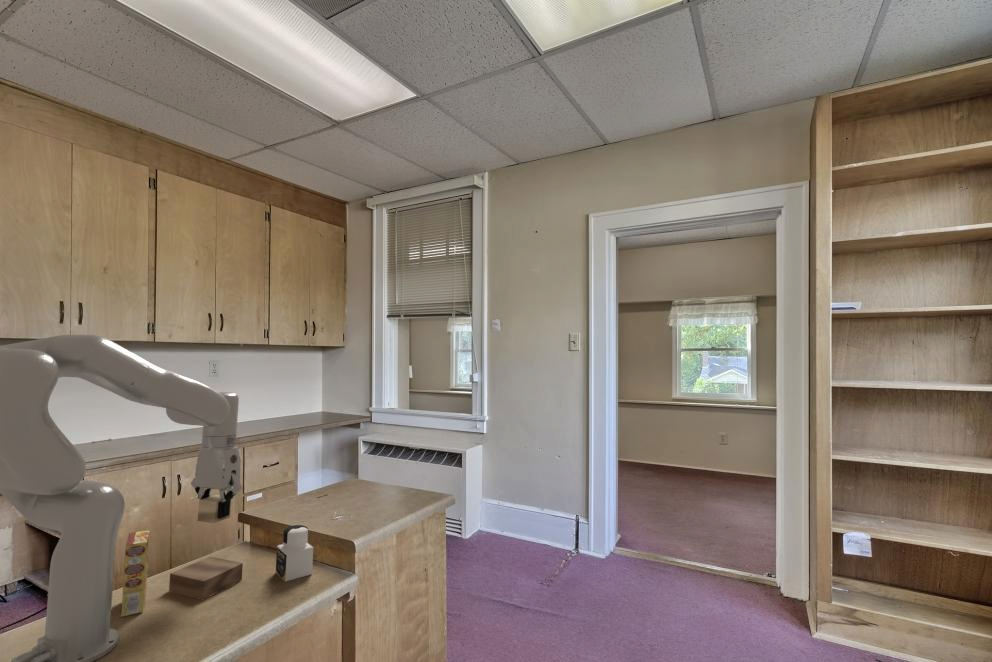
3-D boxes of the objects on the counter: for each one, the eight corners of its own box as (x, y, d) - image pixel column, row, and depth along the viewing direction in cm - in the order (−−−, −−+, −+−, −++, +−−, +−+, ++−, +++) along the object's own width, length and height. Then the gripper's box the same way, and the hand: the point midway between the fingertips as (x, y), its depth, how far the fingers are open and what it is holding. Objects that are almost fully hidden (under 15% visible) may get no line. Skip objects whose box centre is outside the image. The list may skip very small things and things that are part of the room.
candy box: (143, 612, 106) (149, 541, 107) (119, 618, 104) (125, 545, 105) (146, 596, 114) (150, 529, 115) (123, 600, 111) (128, 532, 112)
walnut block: (203, 601, 113) (204, 581, 113) (168, 592, 116) (170, 573, 117) (241, 581, 123) (242, 563, 123) (209, 574, 127) (210, 556, 127)
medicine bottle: (275, 572, 128) (277, 526, 129) (302, 565, 133) (304, 521, 133) (284, 582, 123) (287, 534, 123) (312, 574, 127) (314, 528, 128)
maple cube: (214, 523, 117) (215, 502, 118) (197, 520, 119) (199, 500, 119) (230, 517, 122) (231, 497, 123) (214, 514, 124) (215, 495, 124)
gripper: (258, 442, 123) (253, 515, 122) (204, 437, 128) (199, 507, 126) (235, 446, 116) (230, 524, 115) (179, 441, 120) (173, 516, 119)
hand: (214, 514), depth 121 cm, fingers closed on maple cube, 5 cm apart
